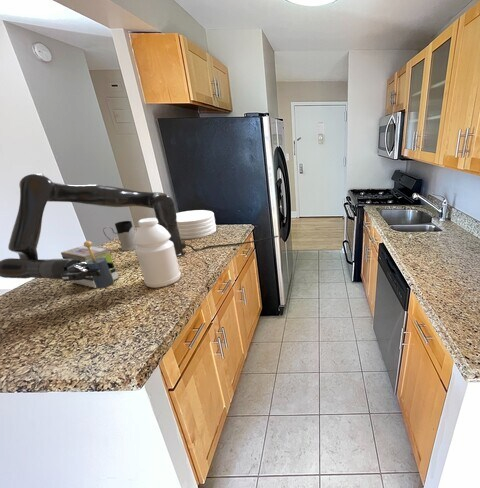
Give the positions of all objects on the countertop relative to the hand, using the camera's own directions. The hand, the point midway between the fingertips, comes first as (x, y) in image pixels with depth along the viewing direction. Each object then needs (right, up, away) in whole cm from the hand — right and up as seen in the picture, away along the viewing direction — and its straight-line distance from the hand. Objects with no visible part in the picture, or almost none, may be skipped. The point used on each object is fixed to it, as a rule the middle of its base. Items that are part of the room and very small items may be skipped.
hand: (106, 269), depth 95 cm
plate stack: (-9, +17, +81) cm, 84 cm away
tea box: (-22, -7, +20) cm, 31 cm away
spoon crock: (-3, -6, +3) cm, 7 cm away
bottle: (+8, -7, +21) cm, 23 cm away
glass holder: (-35, +7, +54) cm, 65 cm away
